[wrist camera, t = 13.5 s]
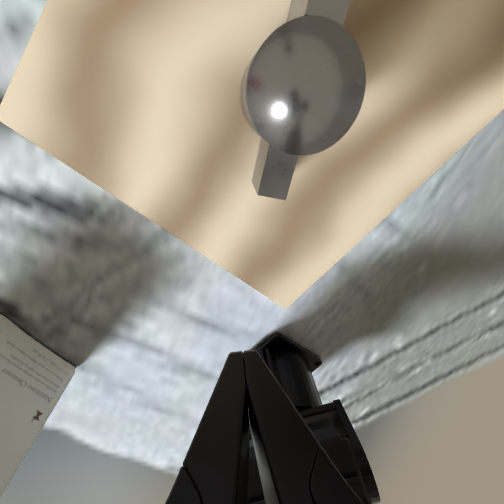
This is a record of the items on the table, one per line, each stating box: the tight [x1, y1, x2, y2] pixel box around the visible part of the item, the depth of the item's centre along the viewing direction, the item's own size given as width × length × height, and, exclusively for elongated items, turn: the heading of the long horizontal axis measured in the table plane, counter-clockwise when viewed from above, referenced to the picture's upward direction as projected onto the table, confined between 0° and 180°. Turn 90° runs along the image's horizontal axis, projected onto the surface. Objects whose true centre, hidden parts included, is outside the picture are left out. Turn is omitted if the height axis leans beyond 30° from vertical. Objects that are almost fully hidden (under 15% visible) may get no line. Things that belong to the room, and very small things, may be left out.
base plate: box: [0, 0, 504, 309], centre depth 16 cm, size 22×22×1 cm
